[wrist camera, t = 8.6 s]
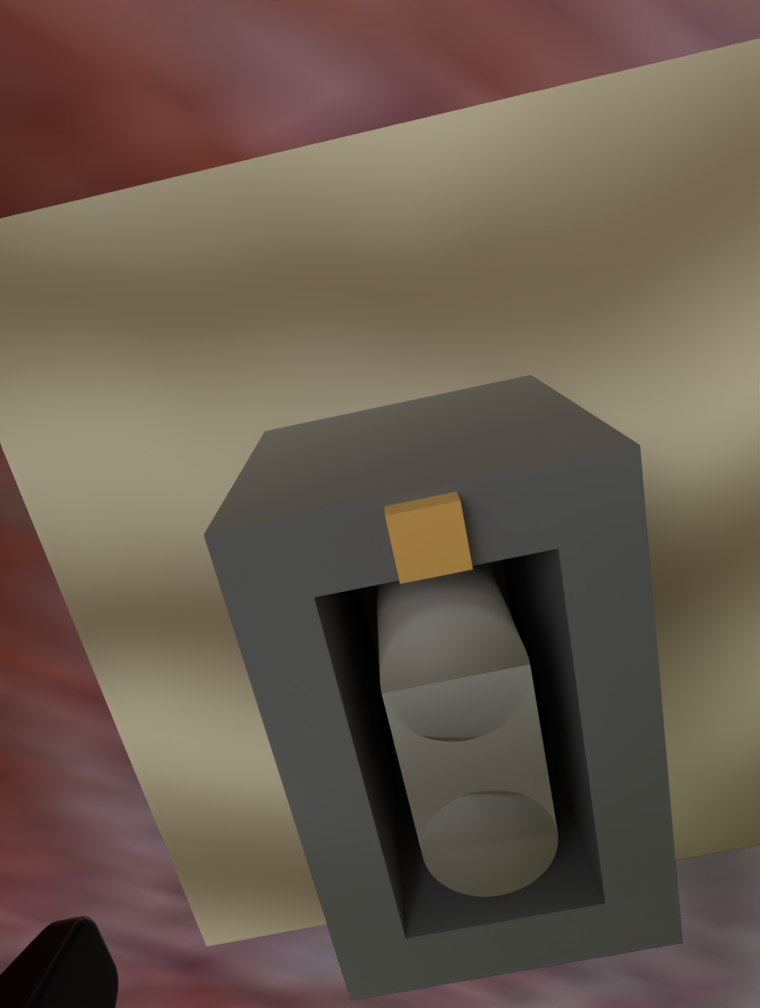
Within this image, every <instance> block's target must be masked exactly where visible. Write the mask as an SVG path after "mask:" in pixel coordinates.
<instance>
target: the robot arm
mask: <svg viewBox="0 0 760 1008" xmlns="http://www.w3.org/2000/svg"><path fill="white" fill-rule="evenodd" d="M117 994H118V973H117V969H116V965H115V963H114V961H113V959H112V957H111V955H110V952H109V950H108V948H107V946H106V944H105V942H104V940H103V938H102V936H101V933H100V931H99V929H98V927H97V925H96V923H95V922H94V920H92V919H91V918H90V917H88V916H81V917H75V918H70V919H65V920H59V921H55V922H53V923H51V924H50V925H48V926H47V927H46V928H45V929H44V930H42V931H41V933H40V934H39V935H38V936H37V937H36V938H35V939H34V940H33V941H32V942H31V943H30V944H29V945H28V946H27V947H26V948H25V949H24V950H23V951H22V952H21V954H20V955H19V956H18V957H17V958H16V959H15V960H14V961H13V962H12V963H11V964H10V965H9V966H8V967H7V968H6V969H5V970H4V971H3V972H2V973H1V974H0V1008H115V1006H116V1000H117Z"/></svg>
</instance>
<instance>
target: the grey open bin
mask: <svg viewBox="0 0 760 1008" xmlns="http://www.w3.org/2000/svg"><path fill="white" fill-rule="evenodd" d="M204 538H205V541H206V544H207V548H208V551H209V554H210V557H211V560H212V563H213V566H214V570H215V573H216V576H217V579H218V582H219V585H220V589H221V592H222V595H223V598H224V601H225V604H226V608H227V611H228V614H229V617H230V620H231V623H232V626H233V630H234V633H235V636H236V639H237V642H238V645H239V649H240V652H241V655H242V658H243V661H244V664H245V668H246V671H247V674H248V677H249V680H250V683H251V686H252V690H253V693H254V696H255V699H256V702H257V705H258V709H259V712H260V715H261V718H262V721H263V724H264V727H265V731H266V734H267V737H268V740H269V743H270V746H271V750H272V753H273V756H274V759H275V762H276V765H277V769H278V772H279V775H280V778H281V781H282V784H283V787H284V791H285V794H286V797H287V800H288V803H289V806H290V810H291V813H292V816H293V819H294V822H295V825H296V829H297V832H298V835H299V838H300V841H301V844H302V847H303V851H304V854H305V857H306V860H307V863H308V866H309V870H310V873H311V876H312V879H313V882H314V885H315V889H316V892H317V895H318V898H319V901H320V904H321V907H322V911H323V914H324V917H325V920H326V923H327V926H328V930H329V933H330V936H331V939H332V942H333V945H334V948H335V952H336V955H337V958H338V961H339V964H340V967H341V971H342V974H343V977H344V980H345V983H346V986H347V990H348V993H349V996H350V999H351V1000H356V999H362V998H368V997H374V996H379V995H385V994H391V993H397V992H402V991H408V990H414V989H420V988H426V987H431V986H437V985H443V984H449V983H454V982H460V981H466V980H472V979H478V978H483V977H489V976H495V975H501V974H506V973H512V972H518V971H524V970H530V969H535V968H541V967H547V966H553V965H558V964H564V963H570V962H576V961H582V960H587V959H593V958H599V957H605V956H610V955H616V954H622V953H628V952H634V951H639V950H645V949H651V948H657V947H662V946H668V945H674V944H680V943H683V942H682V930H681V918H680V907H679V895H678V883H677V871H676V860H675V848H674V836H673V824H672V813H671V801H670V789H669V777H668V766H667V754H666V742H665V731H664V719H663V707H662V695H661V684H660V672H659V660H658V648H657V637H656V625H655V613H654V601H653V590H652V578H651V566H650V554H649V543H648V531H647V519H646V507H645V496H644V484H643V472H642V461H641V449H640V445H639V444H638V443H636V442H635V441H633V440H632V439H630V438H628V437H627V436H625V435H624V434H622V433H621V432H619V431H618V430H616V429H614V428H613V427H611V426H610V425H608V424H607V423H605V422H604V421H602V420H600V419H599V418H597V417H596V416H594V415H593V414H591V413H590V412H588V411H586V410H585V409H583V408H582V407H580V406H579V405H577V404H576V403H574V402H572V401H571V400H569V399H568V398H566V397H565V396H563V395H562V394H560V393H558V392H557V391H555V390H554V389H552V388H551V387H549V386H548V385H546V384H544V383H543V382H541V381H540V380H538V379H537V378H535V377H534V376H532V375H528V376H523V377H518V378H513V379H509V380H504V381H499V382H495V383H490V384H485V385H480V386H476V387H471V388H466V389H461V390H457V391H452V392H447V393H443V394H438V395H433V396H428V397H424V398H419V399H414V400H410V401H405V402H400V403H395V404H391V405H386V406H381V407H376V408H372V409H367V410H362V411H358V412H353V413H348V414H343V415H339V416H334V417H329V418H324V419H320V420H315V421H310V422H306V423H301V424H296V425H291V426H287V427H282V428H277V429H273V430H268V431H265V432H264V433H263V435H262V437H261V438H260V440H259V442H258V443H257V445H256V447H255V448H254V450H253V452H252V454H251V455H250V457H249V459H248V460H247V462H246V464H245V465H244V467H243V469H242V470H241V472H240V474H239V476H238V477H237V479H236V481H235V482H234V484H233V486H232V487H231V489H230V491H229V492H228V494H227V496H226V498H225V499H224V501H223V503H222V504H221V506H220V508H219V509H218V511H217V513H216V515H215V516H214V518H213V520H212V521H211V523H210V525H209V526H208V528H207V530H206V531H205V533H204ZM498 560H503V564H504V570H505V576H506V582H507V588H508V594H509V600H510V607H511V613H512V619H513V622H514V624H515V627H516V629H517V631H518V634H519V636H520V638H521V641H522V643H523V645H524V648H525V650H526V652H527V655H528V658H529V662H530V667H531V673H532V679H533V685H534V692H535V698H536V704H537V710H538V716H539V722H540V728H541V734H542V740H543V746H544V752H545V758H546V764H547V771H548V777H549V783H550V789H551V795H552V801H553V807H554V813H555V819H556V825H557V831H558V847H557V851H556V854H555V856H554V859H553V861H552V862H551V864H550V866H549V867H548V868H547V869H546V871H545V872H544V873H543V874H542V875H541V876H540V877H539V878H538V879H536V880H535V881H534V882H532V883H531V884H529V885H527V886H526V887H524V888H522V889H519V890H517V891H514V892H511V893H508V894H504V895H499V896H490V897H480V896H471V895H466V894H462V893H459V892H456V891H454V890H451V889H449V888H448V887H446V886H444V885H443V884H441V883H440V882H439V881H438V880H437V879H436V878H435V877H433V875H432V874H431V873H430V871H429V870H428V868H427V866H426V864H425V862H424V859H423V855H422V852H421V848H420V844H419V840H418V836H417V832H416V828H415V824H414V820H413V816H412V812H411V808H410V804H409V800H408V796H407V792H406V788H405V784H404V780H403V776H402V772H401V768H400V764H399V760H398V756H397V752H396V748H395V744H394V740H393V736H392V732H391V728H390V724H389V720H388V716H387V712H386V708H385V704H384V700H383V696H382V692H381V686H380V668H379V664H378V660H377V656H376V651H375V647H374V643H373V639H372V635H371V631H370V627H369V623H368V618H367V614H366V610H365V606H364V602H363V598H362V594H361V589H360V588H364V587H369V586H374V585H379V584H384V583H389V582H394V581H400V584H402V583H407V582H412V581H417V580H422V579H427V578H432V577H437V576H442V575H447V574H452V573H457V572H462V571H467V570H472V569H473V567H472V566H473V565H479V564H483V563H488V562H493V561H498Z"/></svg>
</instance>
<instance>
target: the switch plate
mask: <svg viewBox="0 0 760 1008" xmlns="http://www.w3.org/2000/svg"><path fill="white" fill-rule="evenodd" d="M528 375H532V376H534V377H535V378H537V379H538V380H540V381H541V382H543V383H544V384H546V385H548V386H549V387H551V388H552V389H554V390H555V391H557V392H558V393H560V394H562V395H563V396H565V397H566V398H568V399H569V400H571V401H572V402H574V403H576V404H577V405H579V406H580V407H582V408H583V409H585V410H586V411H588V412H590V413H591V414H593V415H594V416H596V417H597V418H599V419H600V420H602V421H604V422H605V423H607V424H608V425H610V426H611V427H613V428H614V429H616V430H618V431H619V432H621V433H622V434H624V435H625V436H627V437H628V438H630V439H632V440H633V441H635V442H636V443H638V444H639V445H640V449H641V461H642V472H643V484H644V496H645V507H646V519H647V531H648V543H649V554H650V566H651V578H652V590H653V601H654V613H655V625H656V637H657V648H658V660H659V672H660V684H661V695H662V707H663V719H664V731H665V742H666V754H667V766H668V777H669V789H670V801H671V813H672V824H673V836H674V848H675V860H681V859H686V858H692V857H697V856H702V855H708V854H713V853H719V852H724V851H730V850H735V849H741V848H746V847H752V846H757V845H760V38H759V39H755V40H751V41H747V42H742V43H738V44H734V45H730V46H726V47H721V48H717V49H713V50H709V51H704V52H700V53H696V54H692V55H688V56H683V57H679V58H675V59H671V60H667V61H662V62H658V63H654V64H650V65H645V66H641V67H637V68H633V69H629V70H624V71H620V72H616V73H612V74H608V75H603V76H599V77H595V78H591V79H586V80H582V81H578V82H574V83H570V84H565V85H561V86H557V87H553V88H548V89H544V90H540V91H536V92H532V93H527V94H523V95H519V96H515V97H511V98H506V99H502V100H498V101H494V102H489V103H485V104H481V105H477V106H473V107H468V108H464V109H460V110H456V111H452V112H447V113H443V114H439V115H435V116H430V117H426V118H422V119H418V120H414V121H409V122H405V123H401V124H397V125H392V126H388V127H384V128H380V129H376V130H371V131H367V132H363V133H359V134H355V135H350V136H346V137H342V138H338V139H333V140H329V141H325V142H321V143H317V144H312V145H308V146H304V147H300V148H296V149H291V150H287V151H283V152H279V153H274V154H270V155H266V156H262V157H258V158H253V159H249V160H245V161H241V162H237V163H232V164H228V165H224V166H220V167H215V168H211V169H207V170H203V171H199V172H194V173H190V174H186V175H182V176H177V177H173V178H169V179H165V180H161V181H156V182H152V183H148V184H144V185H140V186H135V187H131V188H127V189H123V190H118V191H114V192H110V193H106V194H102V195H97V196H93V197H89V198H85V199H81V200H76V201H72V202H68V203H64V204H59V205H55V206H51V207H47V208H43V209H38V210H34V211H30V212H26V213H21V214H17V215H13V216H9V217H5V218H0V444H1V446H2V449H3V451H4V454H5V456H6V459H7V461H8V463H9V466H10V468H11V471H12V473H13V476H14V478H15V481H16V483H17V485H18V488H19V490H20V493H21V495H22V498H23V500H24V502H25V505H26V507H27V510H28V512H29V515H30V517H31V520H32V522H33V524H34V527H35V529H36V532H37V534H38V537H39V539H40V541H41V544H42V546H43V549H44V551H45V554H46V556H47V559H48V561H49V563H50V566H51V568H52V571H53V573H54V576H55V578H56V580H57V583H58V585H59V588H60V590H61V593H62V595H63V598H64V600H65V602H66V605H67V607H68V610H69V612H70V615H71V617H72V620H73V622H74V624H75V627H76V629H77V632H78V634H79V637H80V639H81V641H82V644H83V646H84V649H85V651H86V654H87V656H88V659H89V661H90V663H91V666H92V668H93V671H94V673H95V676H96V678H97V680H98V683H99V685H100V688H101V690H102V693H103V695H104V698H105V700H106V702H107V705H108V707H109V710H110V712H111V715H112V717H113V719H114V722H115V724H116V727H117V729H118V732H119V734H120V737H121V739H122V741H123V744H124V746H125V749H126V751H127V754H128V756H129V759H130V761H131V763H132V766H133V768H134V771H135V773H136V776H137V778H138V780H139V783H140V785H141V788H142V790H143V793H144V795H145V798H146V800H147V802H148V805H149V807H150V810H151V812H152V815H153V817H154V819H155V822H156V824H157V827H158V829H159V832H160V834H161V837H162V839H163V841H164V844H165V846H166V849H167V851H168V854H169V856H170V858H171V861H172V863H173V866H174V868H175V871H176V873H177V876H178V878H179V880H180V883H181V885H182V888H183V890H184V893H185V895H186V897H187V900H188V902H189V905H190V907H191V910H192V912H193V915H194V917H195V919H196V922H197V924H198V927H199V929H200V932H201V934H202V937H203V939H204V941H205V944H206V946H211V945H217V944H222V943H228V942H233V941H239V940H244V939H249V938H255V937H260V936H266V935H271V934H277V933H282V932H288V931H293V930H299V929H304V928H309V927H315V926H320V925H326V924H327V923H326V920H325V917H324V914H323V911H322V907H321V904H320V901H319V898H318V895H317V892H316V889H315V885H314V882H313V879H312V876H311V873H310V870H309V866H308V863H307V860H306V857H305V854H304V851H303V847H302V844H301V841H300V838H299V835H298V832H297V829H296V825H295V822H294V819H293V816H292V813H291V810H290V806H289V803H288V800H287V797H286V794H285V791H284V787H283V784H282V781H281V778H280V775H279V772H278V769H277V765H276V762H275V759H274V756H273V753H272V750H271V746H270V743H269V740H268V737H267V734H266V731H265V727H264V724H263V721H262V718H261V715H260V712H259V709H258V705H257V702H256V699H255V696H254V693H253V690H252V686H251V683H250V680H249V677H248V674H247V671H246V668H245V664H244V661H243V658H242V655H241V652H240V649H239V645H238V642H237V639H236V636H235V633H234V630H233V626H232V623H231V620H230V617H229V614H228V611H227V608H226V604H225V601H224V598H223V595H222V592H221V589H220V585H219V582H218V579H217V576H216V573H215V570H214V566H213V563H212V560H211V557H210V554H209V551H208V548H207V544H206V541H205V538H204V533H205V531H206V530H207V528H208V526H209V525H210V523H211V521H212V520H213V518H214V516H215V515H216V513H217V511H218V509H219V508H220V506H221V504H222V503H223V501H224V499H225V498H226V496H227V494H228V492H229V491H230V489H231V487H232V486H233V484H234V482H235V481H236V479H237V477H238V476H239V474H240V472H241V470H242V469H243V467H244V465H245V464H246V462H247V460H248V459H249V457H250V455H251V454H252V452H253V450H254V448H255V447H256V445H257V443H258V442H259V440H260V438H261V437H262V435H263V433H264V432H265V431H268V430H273V429H277V428H282V427H287V426H291V425H296V424H301V423H306V422H310V421H315V420H320V419H324V418H329V417H334V416H339V415H343V414H348V413H353V412H358V411H362V410H367V409H372V408H376V407H381V406H386V405H391V404H395V403H400V402H405V401H410V400H414V399H419V398H424V397H428V396H433V395H438V394H443V393H447V392H452V391H457V390H461V389H466V388H471V387H476V386H480V385H485V384H490V383H495V382H499V381H504V380H509V379H513V378H518V377H523V376H528ZM472 567H473V569H472V570H467V571H462V572H457V573H452V574H447V575H442V576H437V577H432V578H427V579H422V580H417V581H412V582H407V583H402V584H400V581H394V582H389V583H384V584H379V585H374V586H369V587H364V588H360V589H361V594H362V598H363V602H364V606H365V610H366V614H367V618H368V623H369V627H370V631H371V635H372V639H373V643H374V647H375V651H376V656H377V660H378V664H379V668H380V686H381V692H382V696H383V700H384V704H385V708H386V712H387V716H388V720H389V724H390V728H391V732H392V736H393V740H394V744H395V748H396V752H397V756H398V760H399V764H400V768H401V772H402V776H403V780H404V784H405V788H406V792H407V796H408V800H409V804H410V808H411V812H412V816H413V820H414V824H415V828H416V832H417V836H418V840H419V844H420V848H421V852H422V855H423V859H424V862H425V864H426V866H427V868H428V870H429V871H430V873H431V874H432V875H433V877H435V878H436V879H437V880H438V881H439V882H440V883H441V884H443V885H444V886H446V887H448V888H449V889H451V890H454V891H456V892H459V893H462V894H466V895H471V896H480V897H490V896H499V895H504V894H508V893H511V892H514V891H517V890H519V889H522V888H524V887H526V886H527V885H529V884H531V883H532V882H534V881H535V880H536V879H538V878H539V877H540V876H541V875H542V874H543V873H544V872H545V871H546V869H547V868H548V867H549V866H550V864H551V862H552V861H553V859H554V856H555V854H556V851H557V847H558V831H557V825H556V819H555V813H554V807H553V801H552V795H551V789H550V783H549V777H548V771H547V764H546V758H545V752H544V746H543V740H542V734H541V728H540V722H539V716H538V710H537V704H536V698H535V692H534V685H533V679H532V673H531V667H530V662H529V658H528V655H527V652H526V650H525V648H524V645H523V643H522V641H521V638H520V636H519V634H518V631H517V629H516V627H515V624H514V622H513V619H512V613H511V607H510V600H509V594H508V588H507V582H506V576H505V570H504V564H503V560H498V561H493V562H488V563H483V564H479V565H473V566H472Z"/></svg>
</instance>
